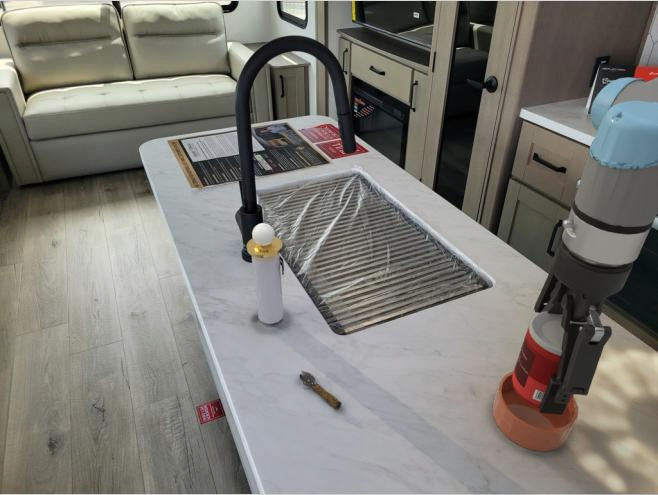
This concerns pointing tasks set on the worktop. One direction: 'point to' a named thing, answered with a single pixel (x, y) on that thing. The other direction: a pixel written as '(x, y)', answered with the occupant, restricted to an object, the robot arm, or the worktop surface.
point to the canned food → (539, 357)
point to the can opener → (319, 389)
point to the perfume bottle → (267, 272)
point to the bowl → (531, 419)
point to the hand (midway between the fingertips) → (542, 385)
